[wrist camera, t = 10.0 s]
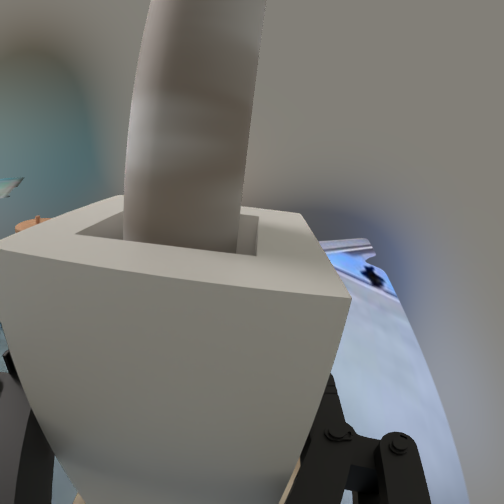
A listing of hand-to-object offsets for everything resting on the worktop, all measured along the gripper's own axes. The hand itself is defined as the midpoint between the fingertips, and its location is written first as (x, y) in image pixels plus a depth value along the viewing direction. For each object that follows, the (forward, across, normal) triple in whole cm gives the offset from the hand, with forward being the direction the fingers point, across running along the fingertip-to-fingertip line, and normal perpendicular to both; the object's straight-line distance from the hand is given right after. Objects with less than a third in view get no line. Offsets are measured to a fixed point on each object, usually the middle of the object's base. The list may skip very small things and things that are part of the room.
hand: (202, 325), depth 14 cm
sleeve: (-5, 0, -6) cm, 8 cm away
